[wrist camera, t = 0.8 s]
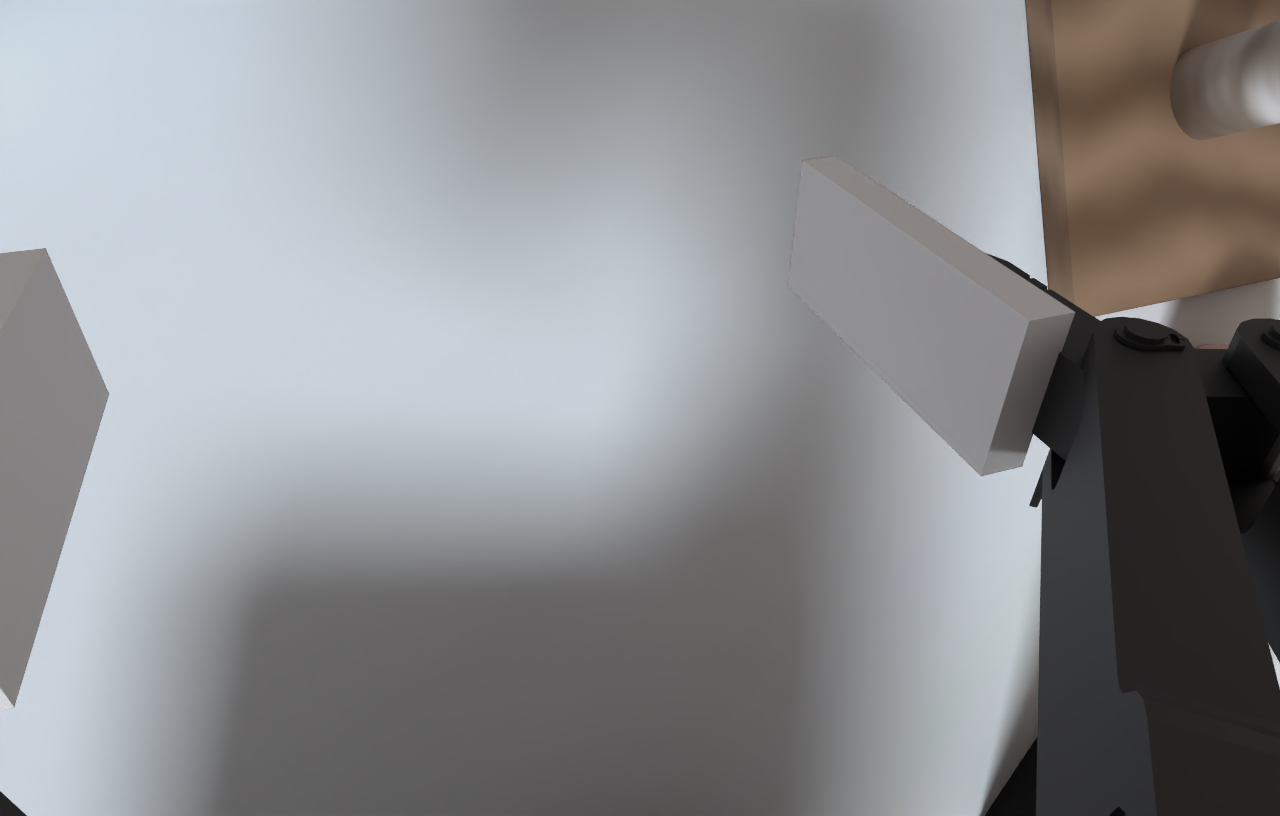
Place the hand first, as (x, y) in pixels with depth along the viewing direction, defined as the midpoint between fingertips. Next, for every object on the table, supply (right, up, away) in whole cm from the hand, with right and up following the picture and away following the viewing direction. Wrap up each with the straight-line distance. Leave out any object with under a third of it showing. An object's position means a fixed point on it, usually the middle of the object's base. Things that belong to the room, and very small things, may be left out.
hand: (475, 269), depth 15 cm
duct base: (+33, +15, +33) cm, 49 cm away
